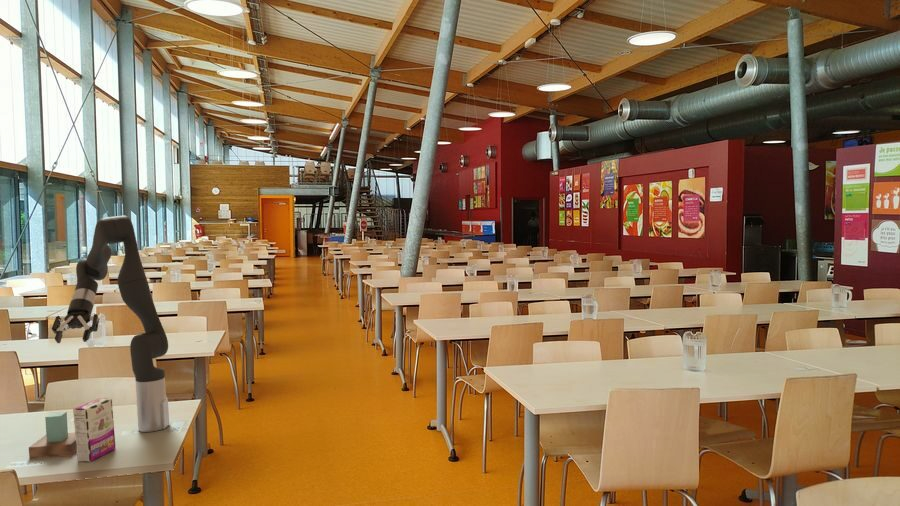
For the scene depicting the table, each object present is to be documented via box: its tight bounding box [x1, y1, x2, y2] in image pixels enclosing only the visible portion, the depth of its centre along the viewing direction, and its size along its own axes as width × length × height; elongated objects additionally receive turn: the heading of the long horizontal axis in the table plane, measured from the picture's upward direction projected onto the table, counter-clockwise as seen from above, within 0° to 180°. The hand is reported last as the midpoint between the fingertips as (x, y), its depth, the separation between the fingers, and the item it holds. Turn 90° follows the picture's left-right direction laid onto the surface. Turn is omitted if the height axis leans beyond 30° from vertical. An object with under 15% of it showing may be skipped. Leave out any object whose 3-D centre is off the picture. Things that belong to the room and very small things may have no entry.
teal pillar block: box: [44, 411, 69, 442], centre depth 209 cm, size 4×4×8 cm
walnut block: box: [28, 432, 77, 460], centre depth 209 cm, size 12×12×4 cm
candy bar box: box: [72, 397, 117, 463], centre depth 203 cm, size 11×5×16 cm, turn 168°
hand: (71, 341), depth 229 cm, fingers open, 8 cm apart
